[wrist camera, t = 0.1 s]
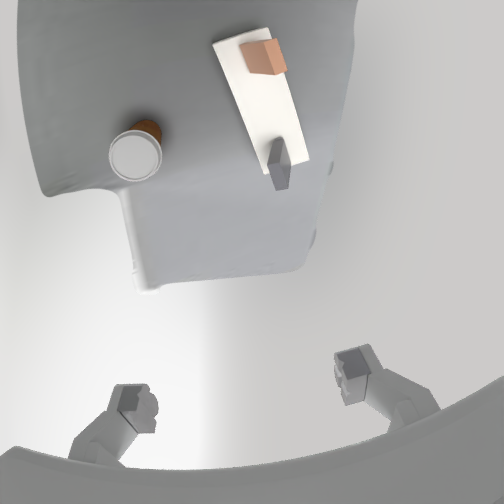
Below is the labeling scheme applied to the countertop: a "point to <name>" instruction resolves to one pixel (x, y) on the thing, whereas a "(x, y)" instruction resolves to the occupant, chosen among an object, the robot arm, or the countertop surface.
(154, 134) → the disposable coffee cup
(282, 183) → the rocker charcoal
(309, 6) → the countertop surface
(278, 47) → the rocker terracotta
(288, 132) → the switch box
